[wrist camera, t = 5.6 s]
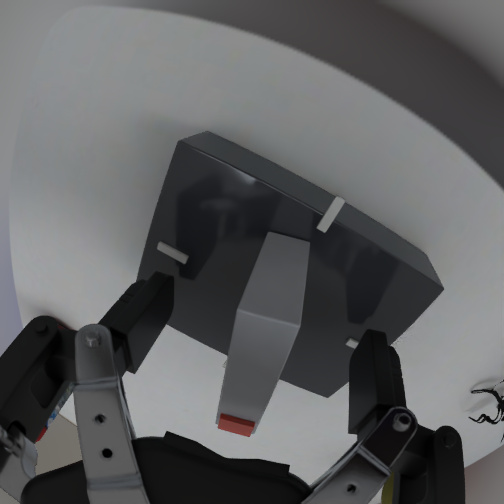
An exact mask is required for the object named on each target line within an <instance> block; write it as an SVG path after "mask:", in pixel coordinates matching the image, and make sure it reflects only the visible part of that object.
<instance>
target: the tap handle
mask: <svg viewBox="0 0 504 504" xmlns="http://www.w3.org/2000/svg"><path fill="white" fill-rule="evenodd" d="M309 251H310V242H307V241H304V240H300V239H296V238H292V237H288V236H285V235H281V234H277V233H273V232H268V233H267V235H266V238H265V240H264V243H263V245H262V248H261V250H260V253H259V255H258V258H257V260H256V263H255V265H254V267H253V270H252V272H251V275H250V277H249V280H248V282H247V285H246V287H245V290H244V292H243V295H242V297H241V300H240V302H239V305H238V307H237V310H236V315H235V320H234V326H233V331H232V336H231V342H230V347H229V352H228V358H227V363H226V368H225V374H224V379H223V385H222V390H221V396H220V401H219V406H218V412H217V417H216V424H217V425H218V428H219V429H222V430H225V431H229V432H232V433H236V434H240V435H244V436H247V437H250V435H251V434H254V433H255V431H256V429H257V427H258V425H259V422H260V420H261V418H262V416H263V414H264V412H265V409H266V407H267V405H268V403H269V401H270V398H271V396H272V394H273V392H274V389H275V387H276V385H277V382H278V380H279V378H280V376H281V373H282V371H283V368H284V366H285V364H286V361H287V359H288V356H289V354H290V352H291V349H292V347H293V344H294V342H295V339H296V337H297V334H298V332H299V329H300V327H301V319H302V312H303V304H304V296H305V287H306V279H307V270H308V260H309Z"/></svg>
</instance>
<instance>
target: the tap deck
mask: <svg viewBox="0 0 504 504" xmlns="http://www.w3.org/2000/svg"><path fill="white" fill-rule="evenodd" d="M345 201H346V200H345V199H344V198H342V197H340V196H339V195H336V196H334V195H332V194H330V193H328V192H327V191H325V190H323V189H321V188H320V187H318V186H316V185H314V184H312V183H311V182H309V181H307V180H305V179H303V178H302V177H300V176H298V175H296V174H294V173H292V172H290V171H289V170H287V169H285V168H283V167H281V166H279V165H277V164H275V163H273V162H271V161H269V160H267V159H265V158H263V157H261V156H259V155H257V154H255V153H253V152H251V151H249V150H247V149H245V148H243V147H241V146H239V145H237V144H235V143H233V142H231V141H228V140H226V139H224V138H222V137H220V136H218V135H215V134H213V133H211V132H209V131H205V132H202V133H199V134H196V135H193V136H190V137H187V138H184V139H182V140H179V141H178V143H177V146H176V149H175V151H174V154H173V157H172V160H171V163H170V166H169V169H168V171H167V174H166V177H165V180H164V184H163V187H162V190H161V193H160V196H159V199H158V202H157V206H156V209H155V212H154V216H153V219H152V223H151V226H150V230H149V233H148V237H147V240H146V244H145V248H144V252H143V255H142V259H141V263H140V267H139V271H138V276H137V280H136V282H137V281H139V280H141V279H143V280H146V281H147V280H148V279H149V278H150V277H151V276H152V274H153V273H154V272H155V271H159V272H162V273H165V274H168V275H172V276H174V308H173V312H172V315H171V317H170V319H169V320H168V322H167V323H166V324H167V325H169V326H171V327H173V328H174V329H176V330H178V331H180V332H182V333H184V334H186V335H187V336H189V337H191V338H193V339H195V340H197V341H199V342H201V343H203V344H205V345H207V346H209V347H211V348H213V349H215V350H217V351H219V352H221V353H223V354H225V355H227V356H228V352H229V347H230V342H231V336H232V331H233V326H234V320H235V315H236V310H237V307H238V305H239V302H240V300H241V297H242V295H243V292H244V290H245V287H246V285H247V282H248V280H249V277H250V275H251V272H252V270H253V267H254V265H255V263H256V260H257V258H258V255H259V253H260V250H261V248H262V245H263V243H264V240H265V238H266V235H267V233H268V232H273V233H277V234H281V235H285V236H288V237H292V238H296V239H300V240H304V241H307V242H310V251H309V260H308V270H307V279H306V287H305V296H304V304H303V312H302V319H301V327H300V329H299V332H298V334H297V337H296V339H295V342H294V344H293V347H292V349H291V352H290V354H289V356H288V359H287V361H286V364H285V366H284V368H283V371H282V373H281V376H280V378H279V379H281V380H283V381H285V382H288V383H290V384H293V385H295V386H298V387H300V388H303V389H305V390H308V391H310V392H313V393H316V394H318V395H321V396H324V397H326V398H329V397H330V396H331V395H332V394H334V393H335V392H336V391H338V390H339V389H340V388H341V387H343V386H344V385H345V384H346V383H348V382H349V363H350V359H351V356H352V354H353V352H354V350H355V348H356V347H357V345H358V343H359V342H360V340H361V338H362V336H363V335H364V333H365V331H366V330H367V329H373V330H377V331H382V332H385V333H386V336H387V342H388V346H390V345H391V344H392V343H393V342H394V341H395V340H396V339H397V338H398V337H399V336H401V335H402V334H403V333H404V332H405V331H406V330H407V329H408V328H409V327H410V326H411V325H412V324H413V323H414V322H415V321H416V320H417V318H418V317H419V316H420V315H421V314H422V313H423V312H424V311H425V310H426V309H427V308H428V307H429V306H430V305H431V304H432V303H433V301H434V300H435V299H436V298H437V297H438V296H439V295H440V294H441V292H442V291H443V290H444V287H443V285H442V283H441V281H440V279H439V277H438V275H437V273H436V271H435V270H434V268H433V266H432V264H431V262H430V260H429V258H428V257H427V255H426V254H425V253H424V252H422V251H421V250H419V249H418V248H416V247H415V246H413V245H412V244H410V243H409V242H408V241H406V240H405V239H403V238H402V237H400V236H398V235H397V234H395V233H394V232H392V231H391V230H389V229H388V228H386V227H385V226H383V225H381V224H380V223H378V222H377V221H375V220H374V219H372V218H370V217H369V216H367V215H365V214H364V213H362V212H361V211H359V210H357V209H356V208H354V207H352V206H351V205H349V204H347V203H346V202H345ZM226 363H227V360H226V362H225V363H224V365H223V367H224V368H226Z"/></svg>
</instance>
